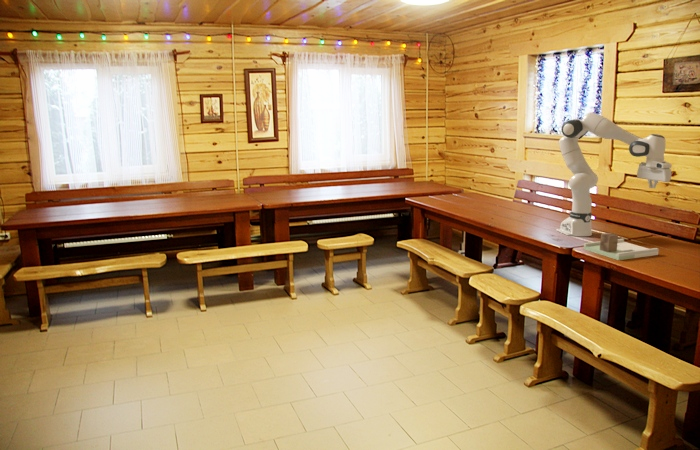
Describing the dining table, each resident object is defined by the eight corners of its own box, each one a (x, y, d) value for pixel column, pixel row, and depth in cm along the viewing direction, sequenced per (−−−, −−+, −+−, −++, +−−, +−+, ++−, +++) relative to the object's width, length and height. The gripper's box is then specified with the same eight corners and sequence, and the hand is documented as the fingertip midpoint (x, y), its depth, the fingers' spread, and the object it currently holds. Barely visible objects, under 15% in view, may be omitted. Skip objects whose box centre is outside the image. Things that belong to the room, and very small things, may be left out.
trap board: (583, 249, 326) (584, 243, 325) (621, 244, 336) (622, 238, 335) (618, 260, 303) (618, 253, 303) (658, 254, 313) (658, 248, 313)
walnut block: (599, 249, 317) (601, 233, 315) (608, 248, 319) (609, 232, 317) (608, 252, 311) (609, 236, 310) (616, 251, 314) (618, 235, 312)
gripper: (635, 162, 334) (633, 185, 337) (665, 165, 315) (663, 190, 318) (643, 161, 336) (641, 185, 339) (674, 165, 318) (671, 190, 321)
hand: (652, 187), depth 329 cm, fingers closed
